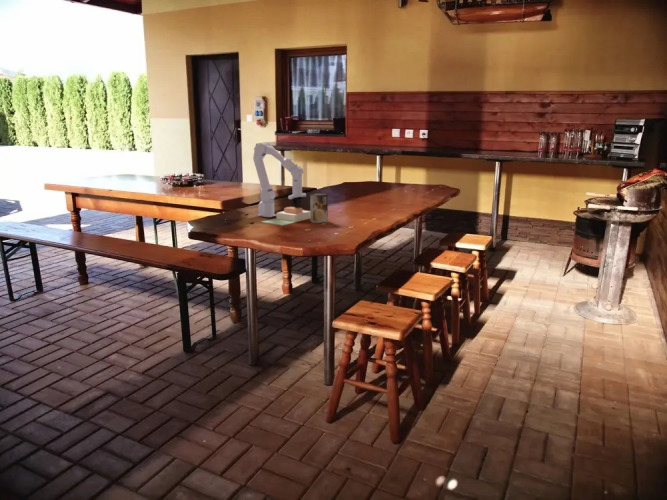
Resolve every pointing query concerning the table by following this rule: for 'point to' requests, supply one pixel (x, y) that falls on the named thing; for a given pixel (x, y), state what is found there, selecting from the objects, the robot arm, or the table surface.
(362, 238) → the table surface
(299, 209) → the terracotta tile
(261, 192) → the robot arm
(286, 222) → the green mat
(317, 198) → the coffee box
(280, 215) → the white panel
